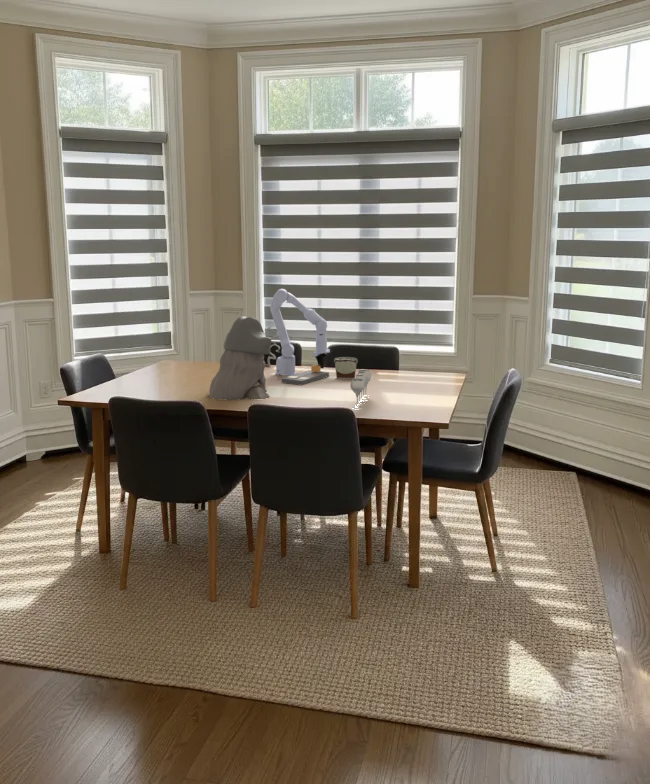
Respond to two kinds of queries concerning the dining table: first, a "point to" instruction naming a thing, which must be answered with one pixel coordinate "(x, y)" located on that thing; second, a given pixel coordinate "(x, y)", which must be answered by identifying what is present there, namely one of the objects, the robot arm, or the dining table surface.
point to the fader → (315, 368)
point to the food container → (345, 367)
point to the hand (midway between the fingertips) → (321, 368)
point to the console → (304, 377)
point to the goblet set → (360, 384)
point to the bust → (243, 362)
